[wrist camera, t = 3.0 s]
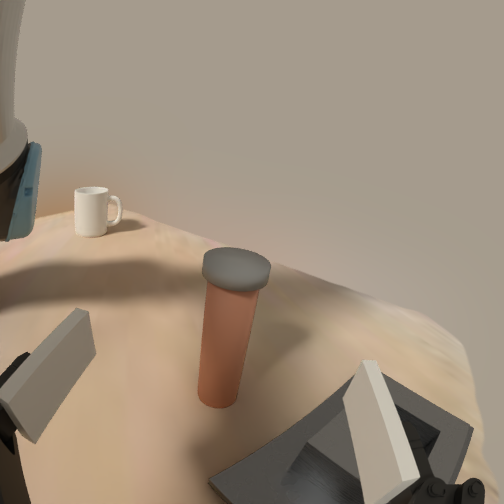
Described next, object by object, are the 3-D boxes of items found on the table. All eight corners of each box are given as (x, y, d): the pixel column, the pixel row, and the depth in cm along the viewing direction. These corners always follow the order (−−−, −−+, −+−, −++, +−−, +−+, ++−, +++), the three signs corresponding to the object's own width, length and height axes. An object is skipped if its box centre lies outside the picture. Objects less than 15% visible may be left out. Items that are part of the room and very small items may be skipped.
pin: (211, 419, 23) (231, 281, 18) (183, 386, 27) (191, 251, 21) (251, 399, 27) (284, 268, 21) (221, 370, 30) (241, 244, 25)
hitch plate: (369, 602, 5) (415, 597, 3) (208, 483, 17) (212, 456, 15) (468, 434, 21) (495, 402, 19) (362, 370, 33) (379, 336, 31)
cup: (79, 226, 62) (79, 186, 59) (123, 227, 66) (125, 187, 63) (71, 237, 55) (70, 193, 51) (120, 239, 59) (121, 194, 56)
